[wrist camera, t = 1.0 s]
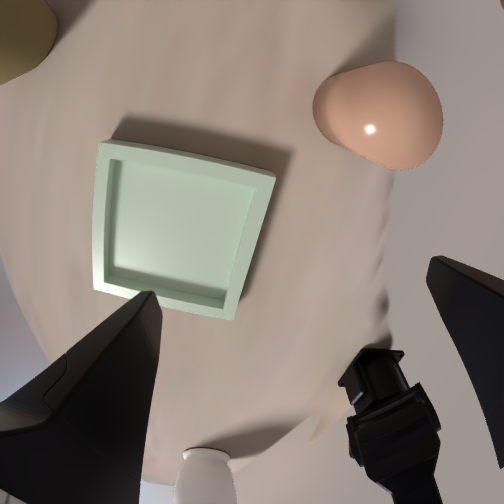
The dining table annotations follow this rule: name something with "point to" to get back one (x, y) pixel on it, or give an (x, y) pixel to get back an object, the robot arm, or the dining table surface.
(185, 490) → the jar
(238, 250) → the tray
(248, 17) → the dining table surface
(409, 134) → the pink rounded cylinder
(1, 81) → the squeeze bottle
